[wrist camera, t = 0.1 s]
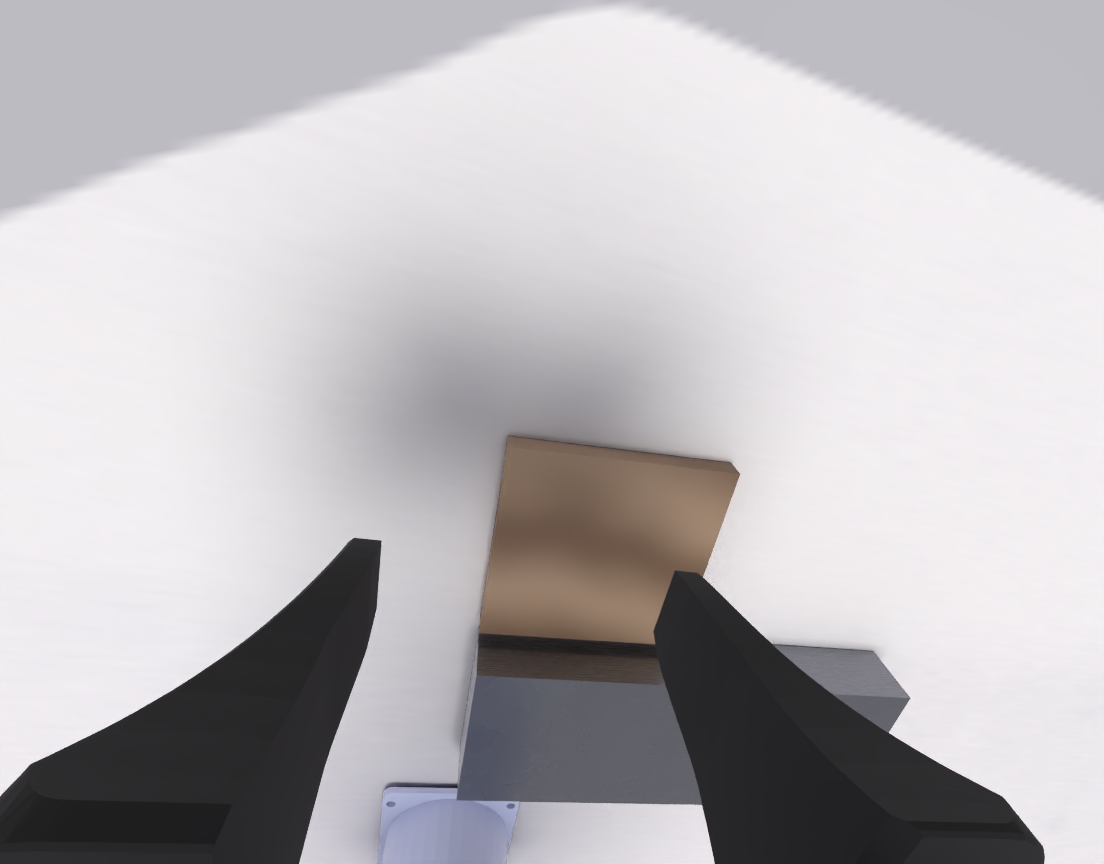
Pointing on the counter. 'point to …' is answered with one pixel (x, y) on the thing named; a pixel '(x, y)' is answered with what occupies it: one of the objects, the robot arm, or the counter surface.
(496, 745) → the grey slotted block
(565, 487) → the board
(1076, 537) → the counter surface
